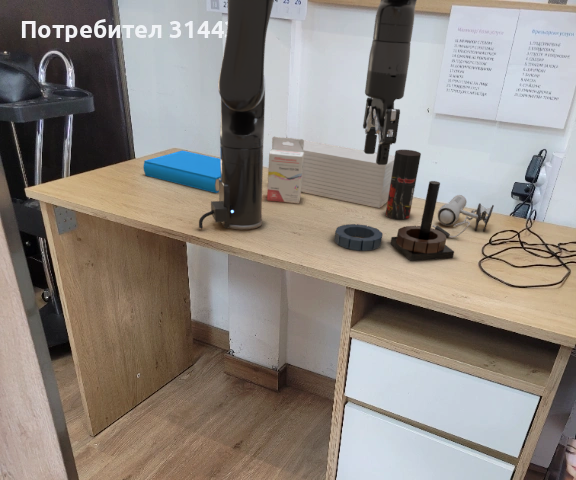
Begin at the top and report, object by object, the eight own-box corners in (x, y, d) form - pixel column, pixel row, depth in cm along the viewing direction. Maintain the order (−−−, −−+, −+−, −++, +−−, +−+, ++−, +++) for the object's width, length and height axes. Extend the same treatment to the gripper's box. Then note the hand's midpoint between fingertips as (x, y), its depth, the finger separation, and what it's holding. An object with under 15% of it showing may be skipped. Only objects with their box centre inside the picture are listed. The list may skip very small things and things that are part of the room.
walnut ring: (409, 254, 114) (411, 244, 113) (388, 236, 122) (389, 227, 121) (452, 251, 117) (455, 241, 116) (429, 234, 125) (431, 224, 123)
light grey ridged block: (392, 198, 150) (399, 156, 144) (379, 208, 143) (385, 164, 136) (288, 177, 162) (290, 137, 155) (271, 185, 154) (272, 144, 147)
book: (181, 150, 165) (251, 163, 155) (182, 165, 167) (251, 179, 158) (141, 161, 153) (215, 176, 143) (143, 177, 155) (215, 193, 145)
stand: (410, 261, 115) (424, 190, 107) (390, 243, 123) (401, 176, 114) (452, 258, 118) (469, 189, 109) (430, 240, 125) (444, 174, 117)
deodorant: (409, 220, 136) (420, 156, 127) (384, 218, 137) (394, 154, 128) (409, 213, 141) (421, 151, 132) (386, 210, 141) (396, 148, 133)
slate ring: (344, 252, 117) (346, 242, 116) (328, 234, 125) (329, 225, 124) (388, 249, 120) (390, 239, 119) (369, 232, 128) (371, 223, 127)
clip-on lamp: (466, 256, 127) (494, 219, 137) (474, 232, 122) (502, 196, 132) (419, 239, 131) (449, 205, 141) (425, 215, 126) (455, 181, 136)
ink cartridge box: (266, 201, 143) (268, 140, 134) (269, 195, 147) (271, 135, 138) (299, 203, 142) (303, 143, 134) (301, 198, 146) (305, 138, 138)
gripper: (358, 63, 110) (348, 150, 119) (380, 73, 98) (367, 168, 108) (394, 65, 111) (381, 150, 120) (420, 75, 100) (404, 168, 109)
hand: (375, 158), depth 114 cm, fingers open, 8 cm apart
